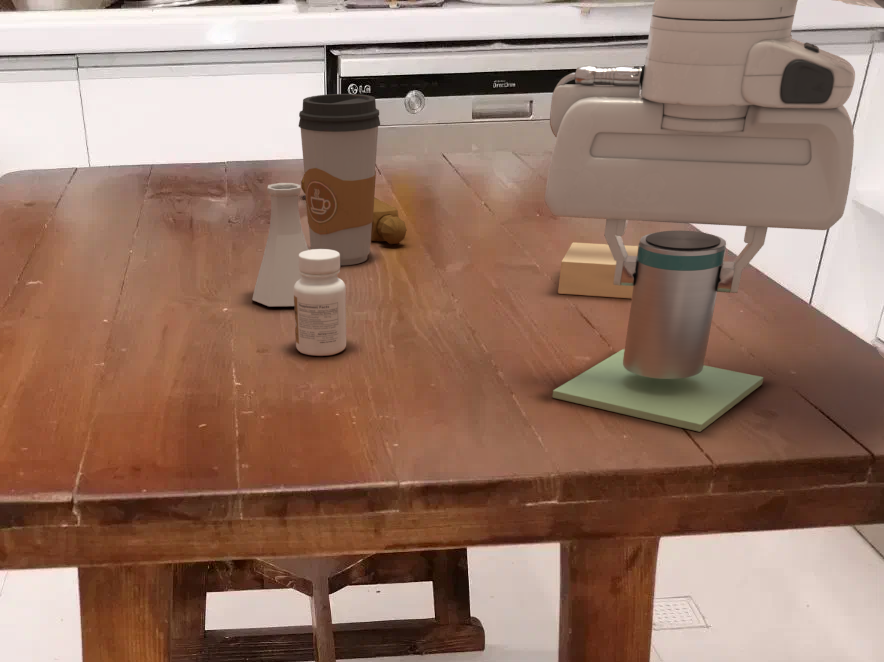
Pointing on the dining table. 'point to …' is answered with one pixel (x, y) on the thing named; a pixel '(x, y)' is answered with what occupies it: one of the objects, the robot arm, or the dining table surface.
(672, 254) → the tumbler
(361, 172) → the coffee cup
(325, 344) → the pill bottle
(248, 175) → the dining table surface
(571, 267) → the plate
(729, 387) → the mat
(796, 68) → the robot arm
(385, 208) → the tap handle
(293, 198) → the flask
